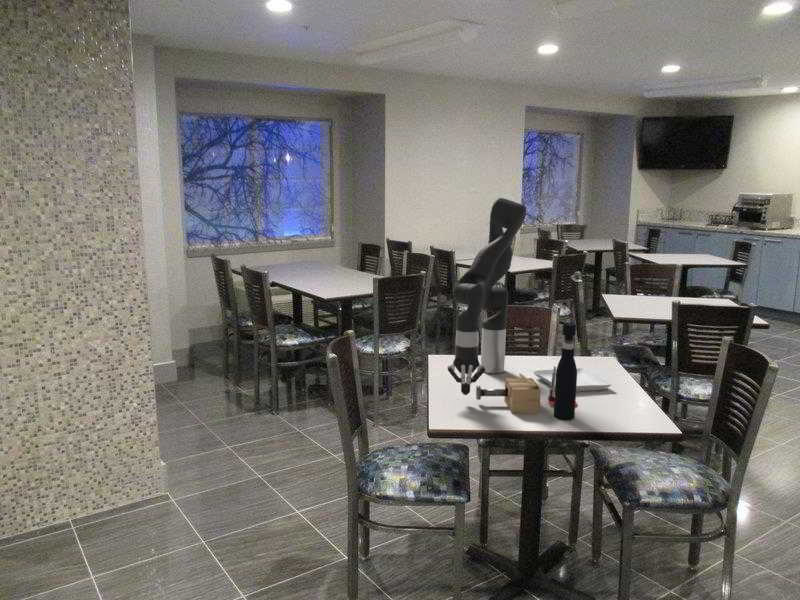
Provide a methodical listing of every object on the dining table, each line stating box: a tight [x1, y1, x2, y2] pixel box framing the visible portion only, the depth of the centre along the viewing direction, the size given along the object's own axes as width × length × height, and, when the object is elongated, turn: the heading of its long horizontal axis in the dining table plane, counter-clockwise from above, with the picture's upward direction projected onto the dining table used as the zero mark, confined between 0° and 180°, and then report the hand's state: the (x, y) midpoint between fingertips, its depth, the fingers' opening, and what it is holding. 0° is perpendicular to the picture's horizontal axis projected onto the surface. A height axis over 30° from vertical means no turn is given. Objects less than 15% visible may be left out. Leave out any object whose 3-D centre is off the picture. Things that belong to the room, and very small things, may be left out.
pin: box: [475, 385, 508, 401], centre depth 212 cm, size 13×5×5 cm, turn 92°
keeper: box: [518, 372, 535, 387], centre depth 205 cm, size 3×6×1 cm
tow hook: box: [547, 366, 578, 408], centre depth 213 cm, size 8×13×9 cm
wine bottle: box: [552, 322, 578, 421], centre depth 199 cm, size 6×6×30 cm
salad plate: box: [532, 367, 612, 393], centre depth 235 cm, size 21×21×3 cm
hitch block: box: [503, 377, 542, 414], centre depth 210 cm, size 12×9×9 cm
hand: (465, 394), depth 212 cm, fingers closed
